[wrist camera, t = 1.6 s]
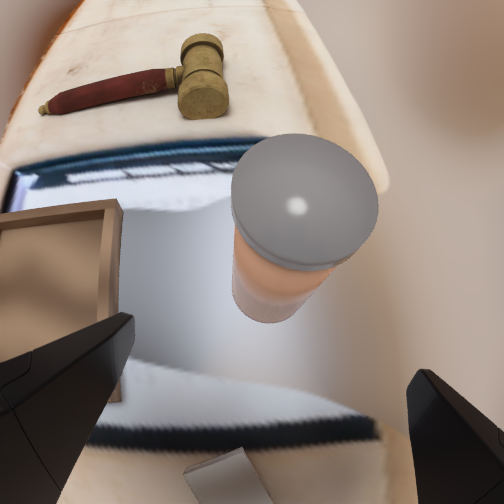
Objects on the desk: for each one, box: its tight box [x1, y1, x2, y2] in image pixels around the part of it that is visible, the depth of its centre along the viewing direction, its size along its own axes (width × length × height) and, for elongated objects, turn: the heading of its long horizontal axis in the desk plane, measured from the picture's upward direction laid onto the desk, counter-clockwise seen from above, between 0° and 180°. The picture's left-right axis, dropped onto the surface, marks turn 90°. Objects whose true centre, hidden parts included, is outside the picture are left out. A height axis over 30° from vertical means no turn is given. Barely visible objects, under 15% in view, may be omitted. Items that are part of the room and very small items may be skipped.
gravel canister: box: [231, 134, 378, 323], centre depth 17 cm, size 5×5×12 cm
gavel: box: [38, 33, 229, 120], centre depth 28 cm, size 21×5×10 cm
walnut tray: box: [0, 199, 123, 403], centre depth 19 cm, size 14×13×2 cm
